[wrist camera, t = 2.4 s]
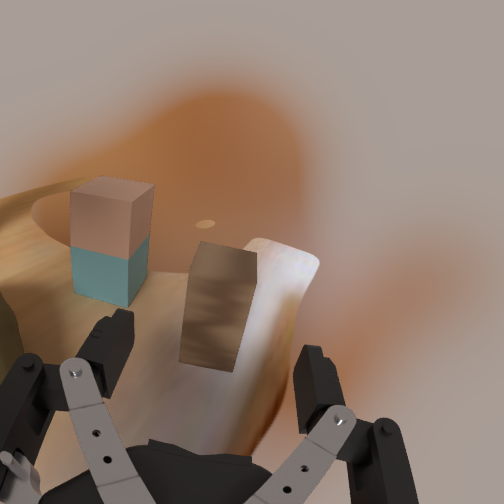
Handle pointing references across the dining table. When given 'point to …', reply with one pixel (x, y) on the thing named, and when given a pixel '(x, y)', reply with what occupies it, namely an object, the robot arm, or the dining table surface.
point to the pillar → (217, 305)
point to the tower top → (111, 215)
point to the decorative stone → (8, 339)
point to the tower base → (109, 274)
